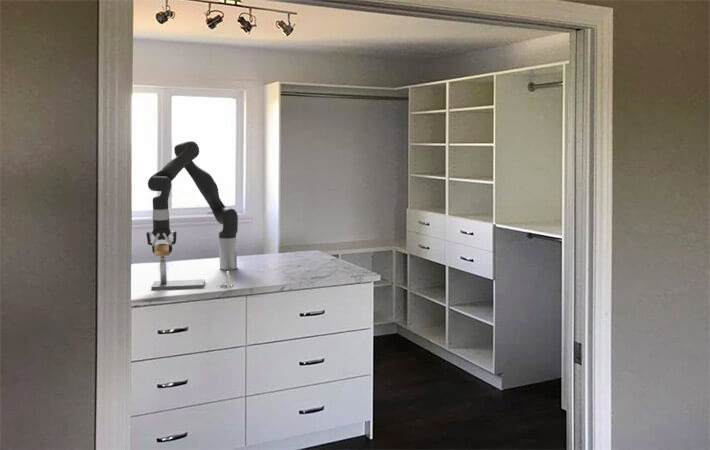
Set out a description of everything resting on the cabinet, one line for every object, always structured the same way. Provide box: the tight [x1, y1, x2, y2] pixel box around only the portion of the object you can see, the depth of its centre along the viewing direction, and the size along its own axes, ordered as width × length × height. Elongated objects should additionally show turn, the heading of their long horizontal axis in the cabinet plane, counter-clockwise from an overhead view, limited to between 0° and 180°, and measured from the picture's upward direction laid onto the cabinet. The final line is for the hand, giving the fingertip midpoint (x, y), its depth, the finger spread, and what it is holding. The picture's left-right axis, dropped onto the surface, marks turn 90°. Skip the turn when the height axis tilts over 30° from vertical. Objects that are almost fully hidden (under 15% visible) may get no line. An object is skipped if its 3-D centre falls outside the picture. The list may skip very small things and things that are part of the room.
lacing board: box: [150, 278, 206, 291], centre depth 306 cm, size 24×12×2 cm, turn 100°
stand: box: [216, 270, 235, 289], centre depth 305 cm, size 8×5×8 cm
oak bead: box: [154, 242, 171, 257], centre depth 303 cm, size 6×6×5 cm
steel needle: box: [159, 256, 168, 284], centre depth 304 cm, size 3×3×13 cm
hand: (162, 253), depth 303 cm, fingers closed on oak bead, 6 cm apart
